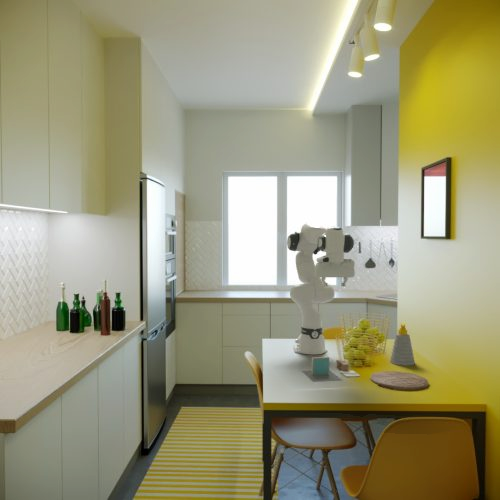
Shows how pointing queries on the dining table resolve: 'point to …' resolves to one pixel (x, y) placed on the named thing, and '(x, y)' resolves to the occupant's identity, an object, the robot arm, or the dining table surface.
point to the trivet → (399, 380)
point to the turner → (346, 369)
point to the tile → (320, 365)
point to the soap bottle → (402, 349)
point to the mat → (322, 377)
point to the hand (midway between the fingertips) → (334, 286)
